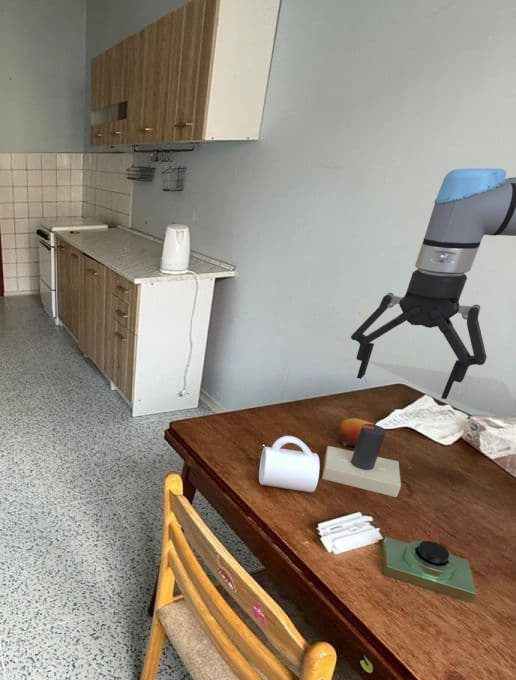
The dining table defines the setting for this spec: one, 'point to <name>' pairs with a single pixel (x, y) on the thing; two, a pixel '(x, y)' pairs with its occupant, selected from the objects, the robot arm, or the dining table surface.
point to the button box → (427, 570)
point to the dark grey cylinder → (368, 446)
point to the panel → (362, 472)
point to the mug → (289, 466)
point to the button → (433, 553)
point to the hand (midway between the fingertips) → (400, 386)
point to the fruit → (351, 431)
